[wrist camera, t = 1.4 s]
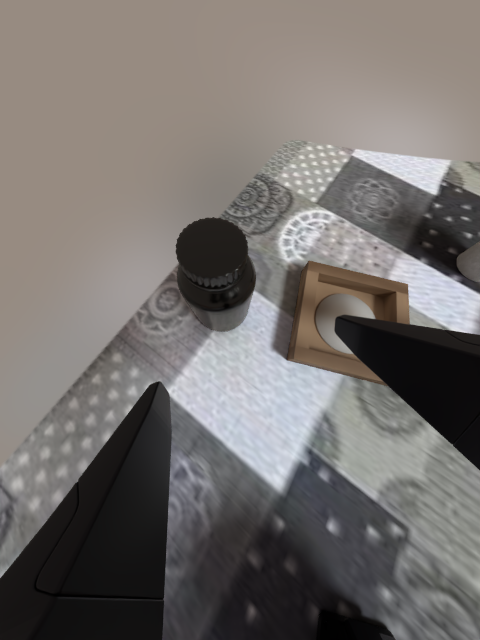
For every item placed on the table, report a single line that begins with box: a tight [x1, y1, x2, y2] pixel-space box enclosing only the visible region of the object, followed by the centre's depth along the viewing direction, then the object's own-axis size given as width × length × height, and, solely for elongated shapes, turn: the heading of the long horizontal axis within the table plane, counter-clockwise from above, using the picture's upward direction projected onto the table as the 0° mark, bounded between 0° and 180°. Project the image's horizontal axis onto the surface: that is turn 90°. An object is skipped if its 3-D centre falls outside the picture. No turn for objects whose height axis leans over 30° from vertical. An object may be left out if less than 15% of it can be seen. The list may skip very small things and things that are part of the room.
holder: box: [287, 261, 410, 386], centre depth 21 cm, size 13×13×2 cm
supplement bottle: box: [176, 217, 256, 332], centre depth 17 cm, size 7×7×12 cm
